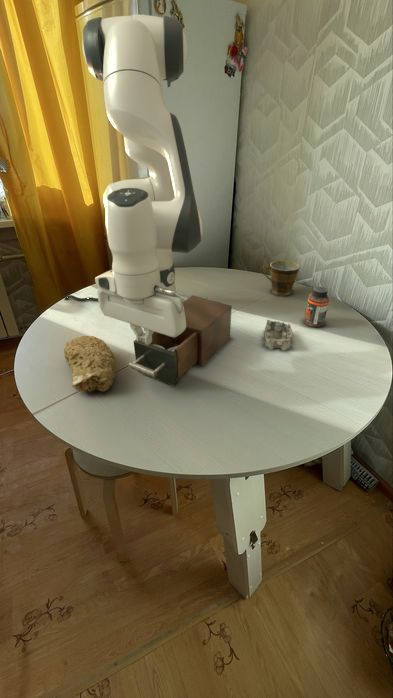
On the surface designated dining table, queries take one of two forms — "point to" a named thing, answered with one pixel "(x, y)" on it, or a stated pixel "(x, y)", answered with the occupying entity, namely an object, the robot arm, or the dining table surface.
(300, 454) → the dining table surface
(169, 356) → the drawer
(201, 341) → the cabinet
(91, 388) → the sponge
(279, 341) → the egg carton
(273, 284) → the ceramic cup
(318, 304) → the supplement bottle
